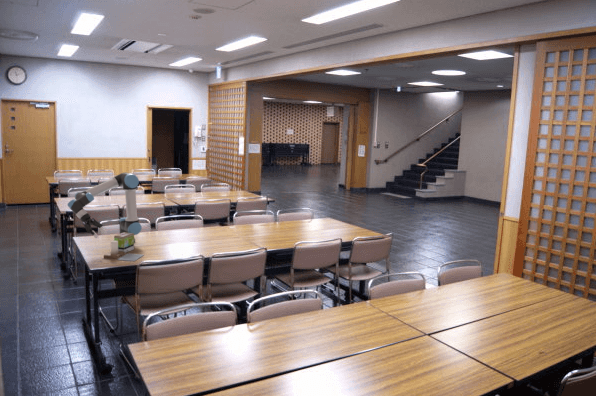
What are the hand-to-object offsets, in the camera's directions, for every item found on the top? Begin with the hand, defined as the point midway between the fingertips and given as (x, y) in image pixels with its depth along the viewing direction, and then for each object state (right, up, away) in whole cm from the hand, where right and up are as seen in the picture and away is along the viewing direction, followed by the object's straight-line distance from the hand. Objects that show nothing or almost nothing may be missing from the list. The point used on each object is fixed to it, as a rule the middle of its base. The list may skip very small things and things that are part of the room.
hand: (101, 235), depth 375 cm
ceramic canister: (+10, -15, +1) cm, 18 cm away
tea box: (+12, -15, +18) cm, 26 cm away
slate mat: (+24, -18, 0) cm, 30 cm away
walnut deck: (+10, -17, +2) cm, 20 cm away
